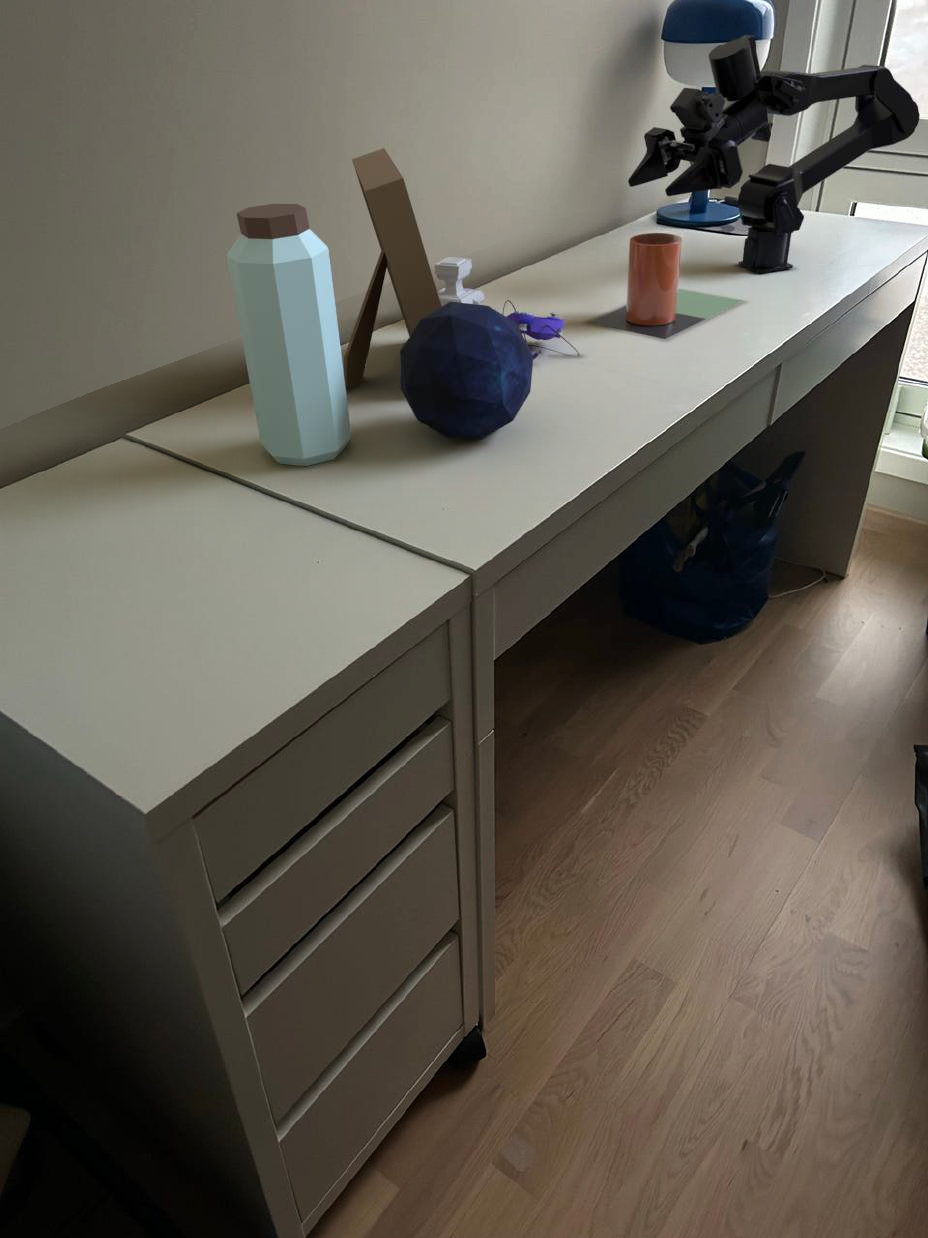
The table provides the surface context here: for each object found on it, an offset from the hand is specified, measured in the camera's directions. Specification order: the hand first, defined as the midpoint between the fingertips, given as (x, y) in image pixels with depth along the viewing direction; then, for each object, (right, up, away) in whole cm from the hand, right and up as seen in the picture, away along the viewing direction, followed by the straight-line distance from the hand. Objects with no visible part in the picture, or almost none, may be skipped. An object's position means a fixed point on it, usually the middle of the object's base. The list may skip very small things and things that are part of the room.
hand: (647, 188), depth 139 cm
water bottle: (-45, -45, -34) cm, 72 cm away
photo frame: (-36, -31, -14) cm, 50 cm away
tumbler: (0, -20, -3) cm, 20 cm away
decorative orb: (-27, -42, -32) cm, 59 cm away
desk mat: (+3, -18, 0) cm, 19 cm away
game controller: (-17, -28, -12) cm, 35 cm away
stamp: (-28, -19, +2) cm, 34 cm away
